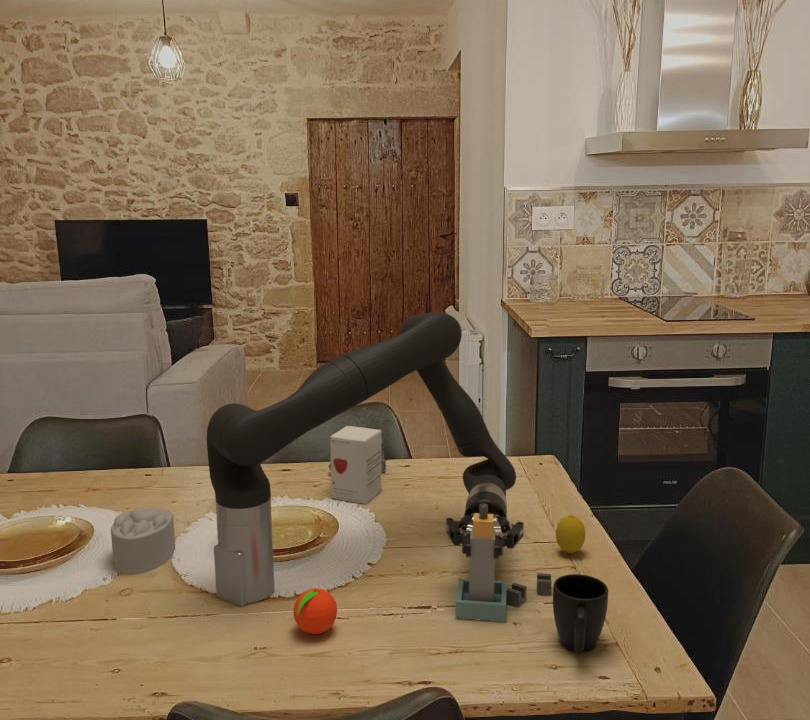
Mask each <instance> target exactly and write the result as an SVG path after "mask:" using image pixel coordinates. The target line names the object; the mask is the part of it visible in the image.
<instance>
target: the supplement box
mask: <svg viewBox="0 0 810 720" xmlns="http://www.w3.org/2000/svg"><path fill="white" fill-rule="evenodd" d="M382 431H383V430H382V429H376V428H375V429H374V428H368V427H363V426H362V427H360V426H353V425H352V426H351V425H346V426H344V427H343V428H342V429H340V430H338V431H336V432H335V433H333V434H332V435H330V439H329V440H330V456H331V460H330V463H331V471H330V487H331V488H330V491H331V492H330V495H331V497H330V498H331V499H332V498H335V499H334V500H338V499H339V501H344V502H351V503H357V504H362V505H367V504H369V502H371V500H373V499H374V498H375V497H377V496H378V494H380V493H381V492H382V473H381V437H382V433H383V432H382Z"/></svg>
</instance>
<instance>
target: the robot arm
mask: <svg viewBox="0 0 810 720" xmlns="http://www.w3.org/2000/svg"><path fill="white" fill-rule="evenodd" d="M462 335H463V333H462V327H461V325H460V323H459V321H458V320H457V318H455V317H454V316H452V315H451V314H449V313H445V312H442V311H432V312H431V311H430V312H427V313H426V312H425V313H420V314H415V315H413V316H409V317H408V318H407V319H406V320H405V321H404V322H403V323H402V325H401V327H400V330H399V334H398V335H397V336H394V337H393V338H390V339H387V340H384V341H379V342H376V343H373V344H370V345H365V346H363V347H359V348H357V349H354V350H352V351H349V352H346V353H344V354H342V355H339V356H338V357H336V358H334V359H332V360H330V361H328V362H326V363H323V364H322V365H320V366H319V367H317V368H316V369H315V370H313V372H312V373H311V374H310V375H308V376H307V378H306V379H305V380H304V382H303V383H302V384H301V385H300V386H299V388H298V389H297V390H295V392H293V393H292V394H291V395H289V396H287V397H286V398H284V399H282V400H280V401H278V402H276V403H274V404H272V405H269V406H267V407H264V408H262V409H260V410H255V409H252V407H249V406H246V405H244V404H241V403H234V402H233V403H228V404H225V405H222V406H221V407H219V408H217V409H216V411H215V412H213V414H212V415H211V417H210V419H209V421H208V425H207V429H206V449H207V460H208V470H209V478H210V482H211V485H212V488H213V490H214V496H215V497H214V498H215V510H216V511H215V513H216V528H217V529H216V530H217V531H216V532H217V544H215V545H214V547H213V554H214V555H213V556H214V557H213V559H214V575H215V578H214V579H215V591H216V592H215V593H216V597H217V598H218V599H220V600H224V601H227V602H229V603H232V604H235V605H237V606H239V607H244V606H246V605H248V604H253V603H257V602H259V601H262V600H265V599H267V598H269V597H270V596H271V595H272V594H273V593H272V592H274V591H275V569H274V546H273V543H274V542H273V523H272V522H273V520H272V519H273V518H272V517H273V516H272V499H271V498H272V497H271V496H272V494H271V492H272V491H271V489H272V488H271V482H270V480H269V478H268V477H267V475H266V473H265V472H264V469H263V467H262V465H261V464H262V463H263V462H265V461H266V460H269V459H270V458H271V457H273V456H274V455H277V453H279V452H280V451H282V450H283V449H284V448H286V447H287V446H289V445H290V444H291V443H293V442H295V440H297V439H299V438H300V437H301V436H303V435H305V434H306V433H308V432H309V431H311V430H313V429H315V428H317V427H319V426H321V425H323V424H325V423H326V422H328V421H330V420H332V419H333V418H335V417H337V416H338V415H340V414H343V413H345V412H347V411H349V410H350V409H353V408H354V407H356V406H358V405H360V404H362V403H364V402H365V401H367V400H368V399H370V398H371V397H373V396H375V395H377V394H379V393H381V392H382V391H383V390H385V389H387V388H389V387H390V386H392V385H394V384H395V383H397V382H399V381H400V380H401V379H403V378H405V377H406V376H407V375H409V374H412V373H413V372H415V371H416V372H417V373H418V376H419V377H420V378H421V380H422V381H423V383H424V385H425V387H426V388H427V389H428V391H429V393H430V395H431V396H432V398H433V400H434V401H435V403H436V405H437V406H438V409H439V411H440V412H441V414H442V416H443V418H444V421H445V423H446V426H447V428H448V430H449V432H450V434H451V436H452V439H453V442H454V444H455V445H456V449H457V450H458V453H459V454H460V455H461V456H463V457H466V458H468V457H469V458H470V457H484V458H486V459H484V460H481V461H479V462H476V463H474V464H473V463H472V464H470V465H469V466H467V467H466V468H465V469H464V471H463V473H462V481H463V486H464V487H465V489H466V492H467V494H468V496H467V498H466V503H465V507H464V516H463V517H461V519H460V520H459V521H458V520H455V519H454V518H453V517H446V519H445V533H446V535H447V536H448V538H449V540H450V542H451V543H452V545H453V546H456V547H457V546H460V545H462V547H461V548H462V549H461V550H462V551H461V552H462V554H463V555H465V557H466V558H470V556H471V543H470V536H471V528H473V518H474V513H479V504H482V503H485V504H488V514H493V529H496V533H495V545H494V558H495V560H496V559H499V557H502V556H503V553H504V551H503V549H504V548H505V547H506V548H507V549H514V548H515V547H516V546H517V544H518V543H519V542H520V541H521V540H522V538H523V537H524V527H525V526H524V521H517V522H516V523H512V524H511V523H510V522H509V520H508V518H507V517H508V503H507V490H510V489H513V487H514V486H515V484H516V480H517V473H516V470H515V467H514V466H513V463H512V462H511V461H510V459H509V458H507V456H506V455H505V454H504V453H503V452H502V450H501V449H500V448H499V447H498V445H497V443H495V440H493V438H492V436H491V434H490V432H489V430H488V427H487V425H486V423H485V420H484V418H483V415H482V413H481V411H480V409H479V407H478V406H477V404H476V402H475V401H474V400H473V399H472V398H471V397H470V395H469V394H468V393H467V392H466V391H465V389H464V388H463V387H462V386H461V385H460V384H459V382H458V381H457V380H456V378H455V377H454V376H453V374H452V373H451V371H450V369H449V368H448V365H447V363H446V361H445V359H448V358H450V357H451V356H452V355H453V354H454V353H455V352H456V351H457V349H458V348H459V346H460V344H461V341H462V337H463V336H462ZM461 531H463V532H461Z"/></svg>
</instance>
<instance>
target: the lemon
mask: <svg viewBox="0 0 810 720" xmlns="http://www.w3.org/2000/svg"><path fill="white" fill-rule="evenodd" d="M555 539H556V543H557V545H558V547H559V548H560V549H561V550H563V551H564V552H566V554H568V555H571V554H573V553H576V552H578V551H580V549H581V548H582V547H583V546H584V544H585V542H586V529H585V525H584V523H583V521H582V520H581V519H580V518H578V517H577V516H575V515H574V514H569V515H566V516H564V517H562V518H561V519H560V520H559V522H558V523H557V525H556V529H555Z"/></svg>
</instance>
